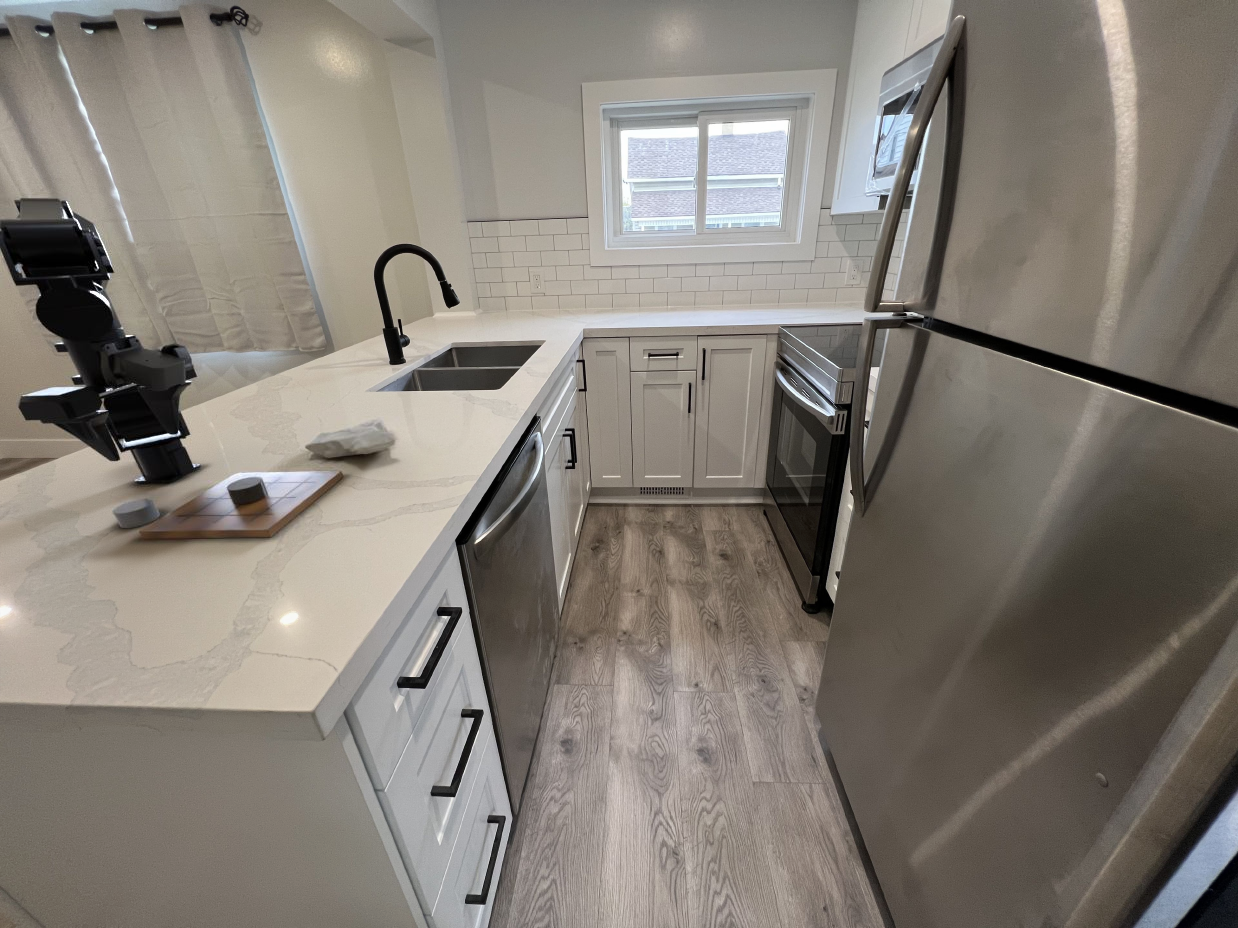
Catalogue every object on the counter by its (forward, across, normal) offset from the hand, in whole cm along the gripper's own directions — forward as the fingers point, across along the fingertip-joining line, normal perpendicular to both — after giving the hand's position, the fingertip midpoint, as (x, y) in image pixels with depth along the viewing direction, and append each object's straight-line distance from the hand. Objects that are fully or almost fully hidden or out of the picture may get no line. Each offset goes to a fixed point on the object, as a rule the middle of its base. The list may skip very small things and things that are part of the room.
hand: (146, 446), depth 68 cm
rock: (+11, +22, -15) cm, 29 cm away
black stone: (+10, +2, -10) cm, 14 cm away
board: (+11, +2, -10) cm, 15 cm away
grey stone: (+11, -1, +4) cm, 12 cm away
